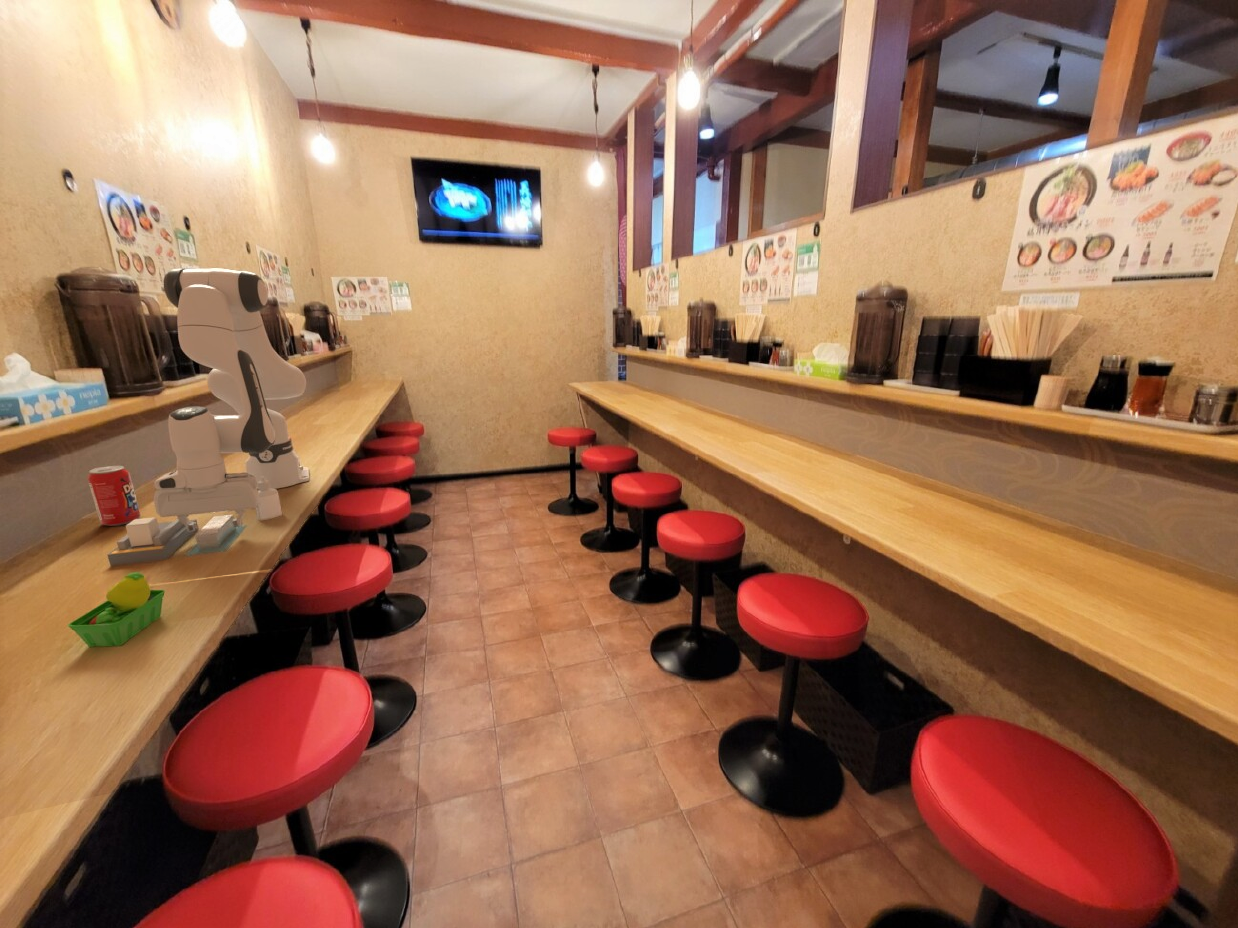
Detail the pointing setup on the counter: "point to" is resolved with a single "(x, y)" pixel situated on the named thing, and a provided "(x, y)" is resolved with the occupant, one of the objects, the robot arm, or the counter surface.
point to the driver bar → (215, 532)
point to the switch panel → (152, 545)
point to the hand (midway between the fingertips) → (215, 528)
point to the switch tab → (142, 531)
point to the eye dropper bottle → (268, 501)
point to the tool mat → (223, 547)
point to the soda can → (113, 495)
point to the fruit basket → (120, 613)
